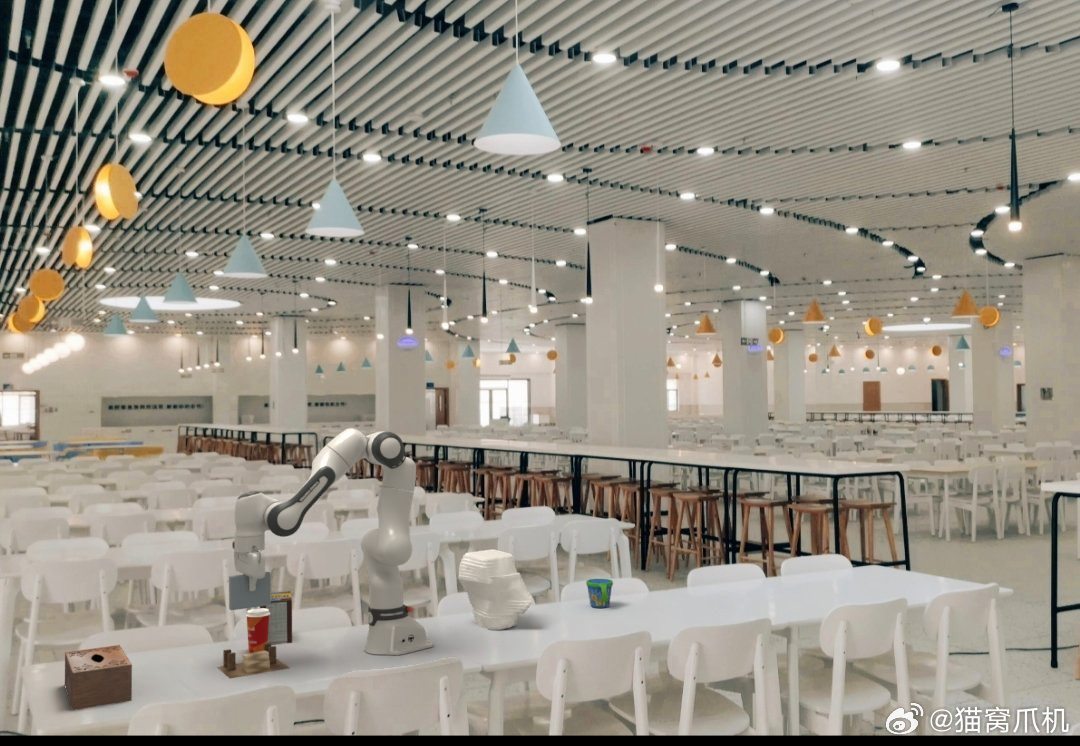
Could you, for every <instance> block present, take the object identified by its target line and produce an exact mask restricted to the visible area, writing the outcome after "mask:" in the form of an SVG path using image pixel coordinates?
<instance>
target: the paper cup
mask: <svg viewBox="0 0 1080 746" xmlns="http://www.w3.org/2000/svg"><path fill="white" fill-rule="evenodd" d="M269 615H270V612H269V609H265V608H260V607H259V608H250V609H248V610H247V611H246V613H245V617H246V627H247V628H246V629H247V644H248V645H247V647H248V653H254V652H259V651H264V644H267V643H268V627H269Z"/></svg>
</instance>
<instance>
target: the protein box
mask: <svg viewBox="0 0 1080 746" xmlns="http://www.w3.org/2000/svg"><path fill="white" fill-rule="evenodd" d="M260 608H265V609H269V612H270V615H269V627H268V643H271V646H276V645H284V644H293V597H292V593H291V591H288V590H287V591H278V592H276V591H275V592H271V605H267V606H260V607H259V609H260Z"/></svg>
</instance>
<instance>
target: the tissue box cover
mask: <svg viewBox="0 0 1080 746" xmlns="http://www.w3.org/2000/svg"><path fill="white" fill-rule="evenodd" d="M132 673H133V664H132V663H131V661H130V659H129V658H128V656H127V655H126V653H125V651H124V650H123V648H122V646H121V645H120V644H118V645H117V644H116V645H110V646H102V647H96V648H87V649H80V650H71V651H65V652H64V687H65V686H66V689H65V691H66V690H67V692H66V694H67V693H68V695H67V698H68V697H69V698H68V700H70V701H69V704H70V703H71V704H70V707H71V710H72V711H76V709H77V710H82V709H89V708H95V707H100V706H107V705H113V704H119V703H123V702H124V703H125V702H131V701H133V699H132V697H133V695H132V694H133V689H132V688H133V685H132V682H133V678H132V677H133V674H132Z"/></svg>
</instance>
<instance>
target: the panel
mask: <svg viewBox="0 0 1080 746" xmlns="http://www.w3.org/2000/svg"><path fill="white" fill-rule="evenodd" d="M248 585H249V577H248V576H246V575H243V574H235V575H229V576H228V596H229V597H228V598H229V599H228V609H229V610H230V611H236V610H243V609H253V608H260V606H267V605H271V593H272V592H271V591H272V589H271V572H270V571H265V577H264V578H261V579H257V582H256V589H255V591H250V590H249V589H248V588H249V587H248Z"/></svg>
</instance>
